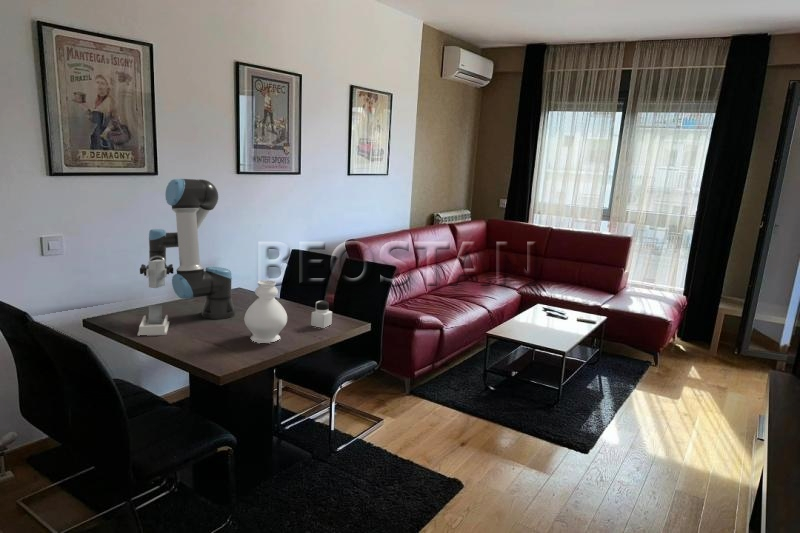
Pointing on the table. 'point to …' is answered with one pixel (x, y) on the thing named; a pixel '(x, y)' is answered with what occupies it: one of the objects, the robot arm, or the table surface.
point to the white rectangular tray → (153, 327)
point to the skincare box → (156, 273)
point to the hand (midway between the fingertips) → (156, 274)
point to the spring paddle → (155, 313)
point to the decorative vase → (265, 314)
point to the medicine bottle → (321, 315)
